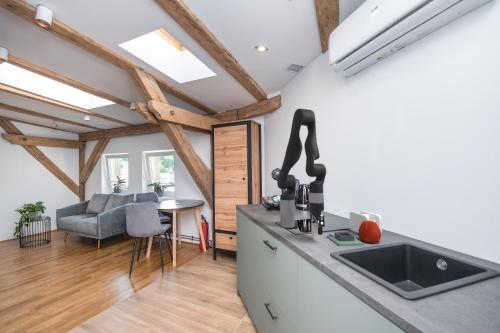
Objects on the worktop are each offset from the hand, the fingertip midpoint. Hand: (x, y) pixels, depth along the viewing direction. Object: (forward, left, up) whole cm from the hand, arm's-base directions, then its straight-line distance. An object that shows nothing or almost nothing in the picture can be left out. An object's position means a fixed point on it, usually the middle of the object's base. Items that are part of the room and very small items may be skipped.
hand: (317, 232), depth 116 cm
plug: (0, 0, -4) cm, 4 cm away
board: (+4, +13, -4) cm, 14 cm away
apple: (+5, +26, -4) cm, 26 cm away
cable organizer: (-8, +31, -4) cm, 33 cm away
